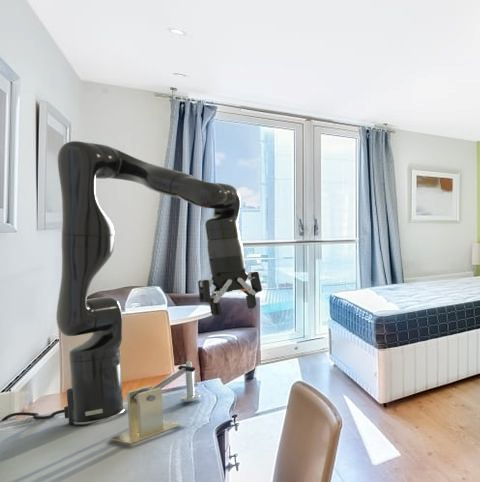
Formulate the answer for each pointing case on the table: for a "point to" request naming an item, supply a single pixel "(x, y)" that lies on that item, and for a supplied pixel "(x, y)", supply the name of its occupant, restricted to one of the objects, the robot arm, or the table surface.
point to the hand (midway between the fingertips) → (235, 312)
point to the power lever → (171, 378)
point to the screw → (189, 387)
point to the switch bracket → (144, 416)
